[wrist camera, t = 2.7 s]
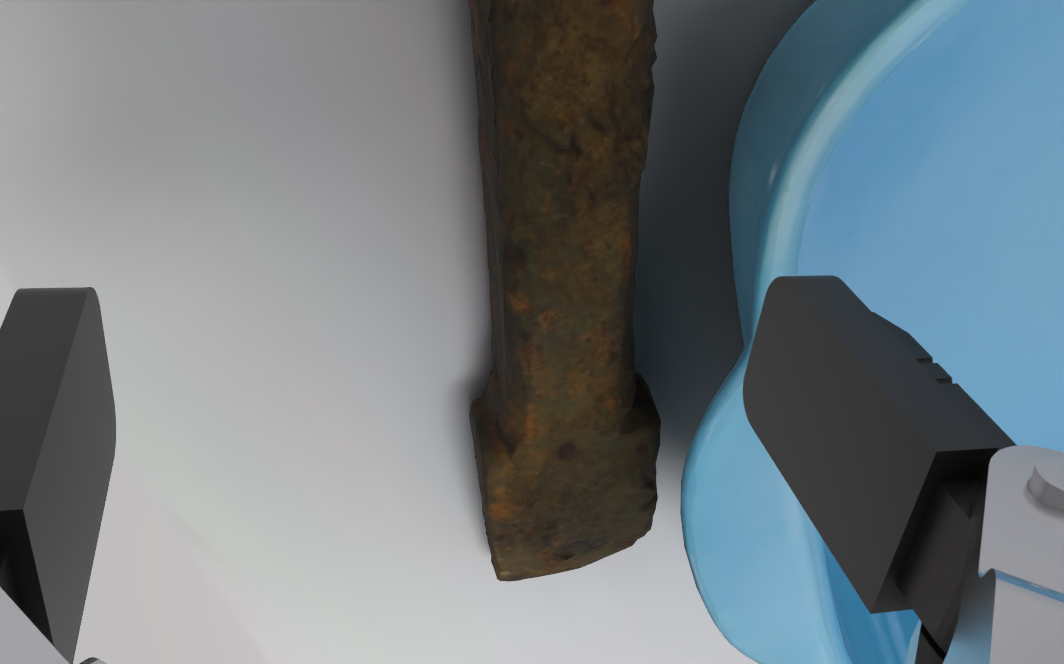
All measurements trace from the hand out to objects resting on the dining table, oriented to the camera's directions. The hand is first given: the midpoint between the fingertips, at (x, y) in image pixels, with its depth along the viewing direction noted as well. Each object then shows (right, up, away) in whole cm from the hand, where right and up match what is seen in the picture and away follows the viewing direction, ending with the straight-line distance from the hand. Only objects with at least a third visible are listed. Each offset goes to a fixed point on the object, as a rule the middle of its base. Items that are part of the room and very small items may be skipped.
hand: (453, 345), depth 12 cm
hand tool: (-4, +5, +6) cm, 9 cm away
